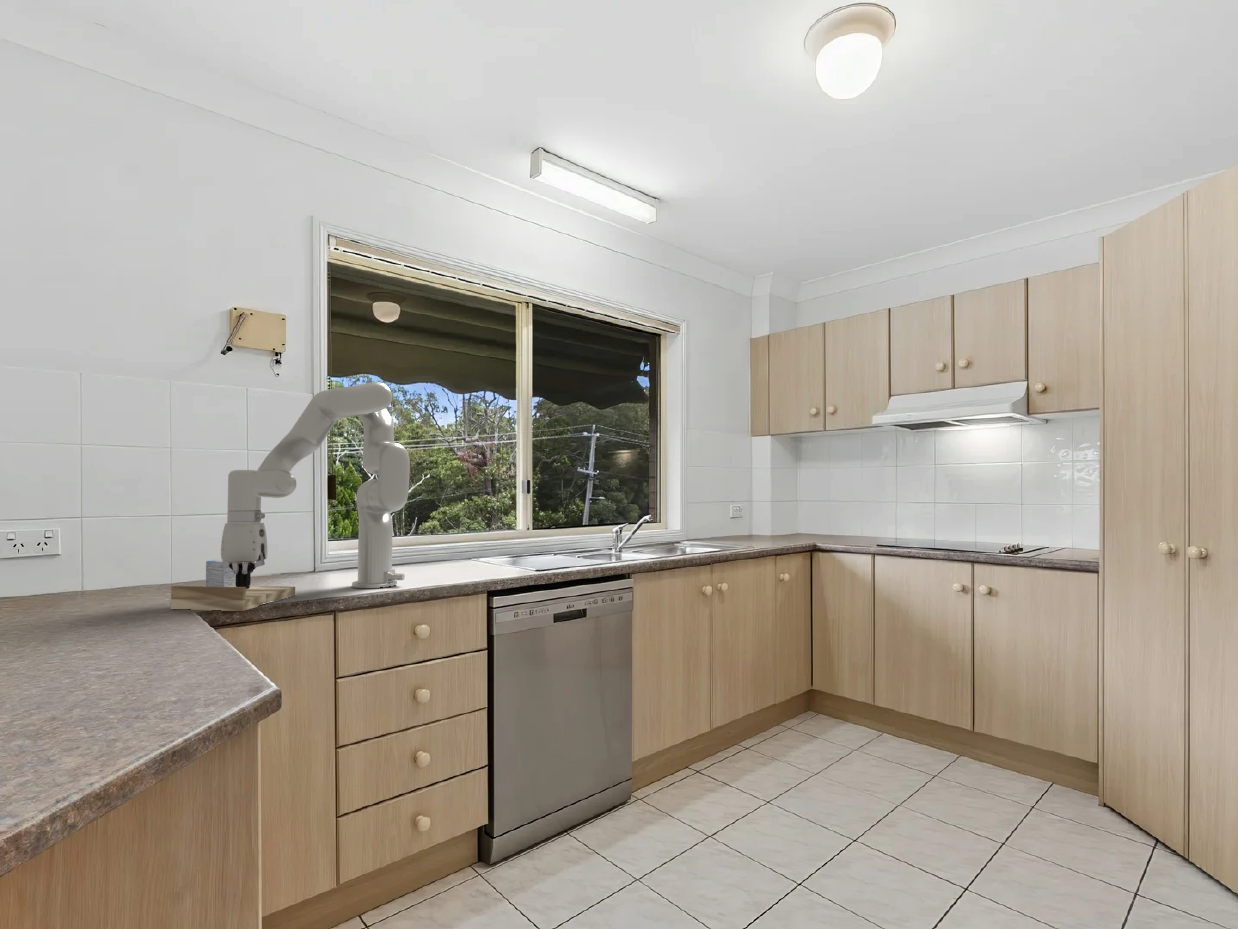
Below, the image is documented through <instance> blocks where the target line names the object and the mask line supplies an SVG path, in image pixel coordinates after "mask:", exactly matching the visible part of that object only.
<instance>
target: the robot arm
mask: <svg viewBox="0 0 1238 929" xmlns="http://www.w3.org/2000/svg"><path fill="white" fill-rule="evenodd" d="M392 400H393V393H392V391H391V389H390V387H389V386H388V385H386V384H385V383H383V382H380V381H372V382H367V383H361V384H355V385H349V386H344V387H336V388H331V389H326V390H321V391H319V392H317V393H316V394H314V396H313V397H312V399H310V401H309V403H308V404H307V405H306V407H305V409H304V410H303V412H302V413H301V415H300V416H299V417H298V419H297V421H296V422H295V424H294V425H293V426H292V428H291V429H290V431H289V432H288V433H287V434H285V436H284V437H283V438H281V440H280V442H278V443H277V445H276V446H274V448H273V449H271V450H270V452H269V453H268V454H267V455H266V457H265V458H264V460H263V461H262V462H261V464H260V465H259V467H258V469H257V470H255V469H235V470H231V471H230V472H229V473H228V477H227V510H226V511H227V512H226V515H227V520H226V521H227V523H225V524H224V527H223V530H222V536H221V544H220V546H221V547H220V559H222V560H223V561H222V565H223V566H226V567H230V568H231V569H232V570H233V573H234V574H236V583H235V584H236V587H246V589H249V588H250V586H251V581H252V580H251V579H252V576H251V574H252V573H253V572H254V570H256V569H257V568H258V567H263V566H265V563H266V562H265V560H266V559H267V558H268V538H267V531H266V526H265V523H264V522H261V521H262V519H265V517H266V515H265V513H263V512H262V497H263V498H273V499H280V498H285V497H289V496H290V495H292V494H293V492H294V491H296V488H297V480H296V478H295V476H294V475H293V474H292V472H291V471H292V470H293V469H294V467H295V466H296V465H297V464H298V463H300V462H301V461H302V460H303V459H305V458H307V457H309V456H310V455H312V454H313V453H315V452H316V451H317V450H319V448H320V447H321V445H322V444H323V442H324V441H325V439H326V438H327V436H328V434H329V433H330V431H331V430H332V428H333V427H334V425H335V424H336V422H337V421H338V420H341V419H346V418H347V419H348V418H353V417H359V419H360V421H361V422H362V425H363V446H362V447H363V448H362V465H363V468H364V469H365V471H366V472H367V473H369V474H371V475H377V476H378V478H377V479H370V480H367V481H364V482H363V483H361V485H360V486H359V487H358V488H357V491H356V496H355V498H356V499H355V502H356V507H357V508H356V509H357V516H358V540H357V541H358V542H357V543H358V544H357V548H358V549H357V553H358V554H357V580H355V581H353V582H352V583H351V586H352V588H356V589H381V588H380V587H383V588H390V587H389V586H391V587H395V586H397V585H398V581H404V580H405V576H406V575H405V573H396V569H395V568H393V529H394V528H393V518H392V514H391V513H393V512H394V513H395V512H398V511H400V510H402V509H403V507H405V505H406V503H407V502H408V498H409V492H410V473H411V472H410V471H411V470H410V469H411V460H410V455H409V453H408V450H407V449H406V448H405V447H404V446H403V445H402V444H400V443H398V442H395V429H394V428H395V426H394V421H393V418H392V415H391V414H390V412H389V411H388V409H387V408H388V407H389V406H390V405H391V403H392ZM396 584H397V585H396ZM394 585H395V586H394Z"/></svg>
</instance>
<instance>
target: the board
mask: <svg viewBox="0 0 1238 929" xmlns="http://www.w3.org/2000/svg"><path fill="white" fill-rule="evenodd" d="M291 596H293V597H295V596H296V586H278V585H276V586H274V585H272V586H271V585H268V586H267V585H250V588H249V589H246V587H236V586H228V587H211V586H206V585H205V586H204V585H202V586H199V585H197V586H196V585H171V587H170V610H171V609H191V610H190V611H212V610H216V609H217V610H221V612H244V611H248V610H251V609H254V608H259V607H260V606H259V605H261V604H263V603H267V602H270V601H276V602H278V601H277V600H279V601H281V600H280V599H283V600H285V599H284V598H286V599H289V598H288V597H290V598H292V597H291ZM258 606H259V607H258Z"/></svg>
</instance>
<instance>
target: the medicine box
mask: <svg viewBox="0 0 1238 929" xmlns="http://www.w3.org/2000/svg"><path fill="white" fill-rule="evenodd" d="M222 561H223V560H222V559H221V558H220V559H219V558H218V559H212V560H211V559H210V560H206V562H205V586H211V587H228V586H236V584H235V583H236V574H234V573H233V570H232V569H231V568H230V567H226V566H223V565H222Z"/></svg>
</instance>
